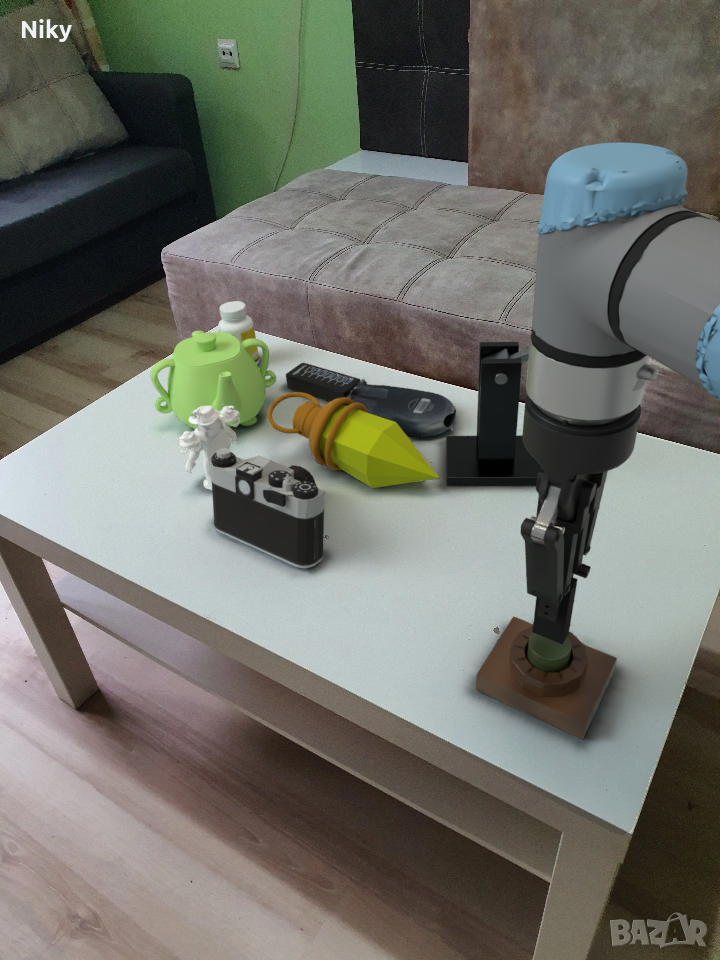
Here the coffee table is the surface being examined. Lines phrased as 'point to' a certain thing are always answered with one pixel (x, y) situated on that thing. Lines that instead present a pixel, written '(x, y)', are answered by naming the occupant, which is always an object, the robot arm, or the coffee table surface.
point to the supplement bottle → (238, 324)
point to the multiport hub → (320, 382)
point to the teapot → (214, 377)
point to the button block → (546, 680)
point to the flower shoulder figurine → (208, 436)
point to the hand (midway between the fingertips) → (550, 632)
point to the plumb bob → (356, 441)
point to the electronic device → (407, 408)
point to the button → (548, 653)
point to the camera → (269, 507)
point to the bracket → (493, 429)
